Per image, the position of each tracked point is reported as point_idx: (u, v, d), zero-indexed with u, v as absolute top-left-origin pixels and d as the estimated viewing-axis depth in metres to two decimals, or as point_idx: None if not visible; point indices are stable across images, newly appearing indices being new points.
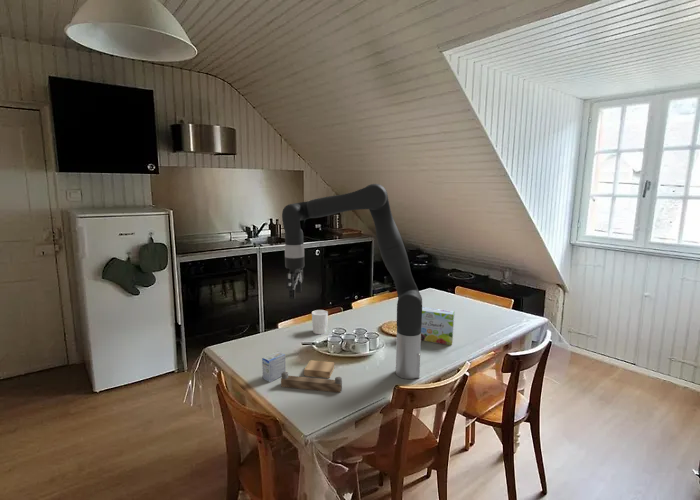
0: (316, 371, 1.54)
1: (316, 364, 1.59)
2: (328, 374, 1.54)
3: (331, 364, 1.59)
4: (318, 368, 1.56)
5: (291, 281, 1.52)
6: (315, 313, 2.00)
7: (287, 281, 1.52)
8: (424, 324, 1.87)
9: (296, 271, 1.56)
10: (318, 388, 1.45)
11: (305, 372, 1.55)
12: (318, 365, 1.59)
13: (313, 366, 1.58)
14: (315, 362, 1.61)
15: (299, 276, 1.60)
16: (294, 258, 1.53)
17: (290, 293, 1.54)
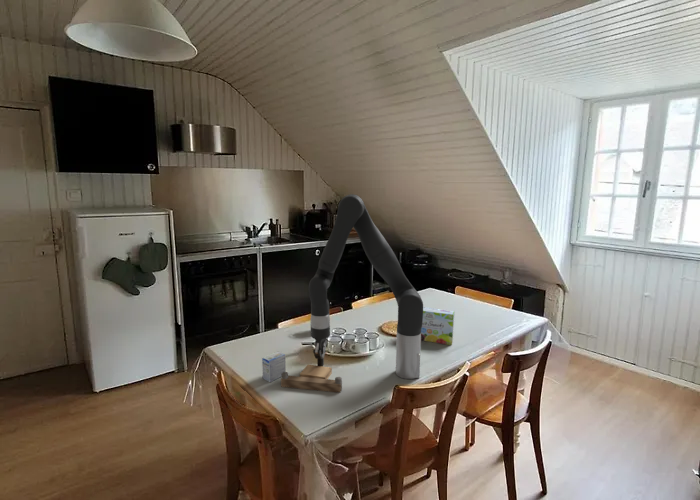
0: (311, 375, 1.51)
1: (312, 369, 1.56)
2: None
3: (328, 369, 1.56)
4: (314, 373, 1.53)
5: (319, 355, 1.54)
6: None
7: (315, 355, 1.55)
8: (424, 324, 1.87)
9: (322, 341, 1.56)
10: (318, 388, 1.45)
11: (301, 376, 1.53)
12: (314, 370, 1.55)
13: (310, 371, 1.55)
14: (312, 366, 1.58)
15: None
16: (320, 329, 1.53)
17: (318, 362, 1.58)
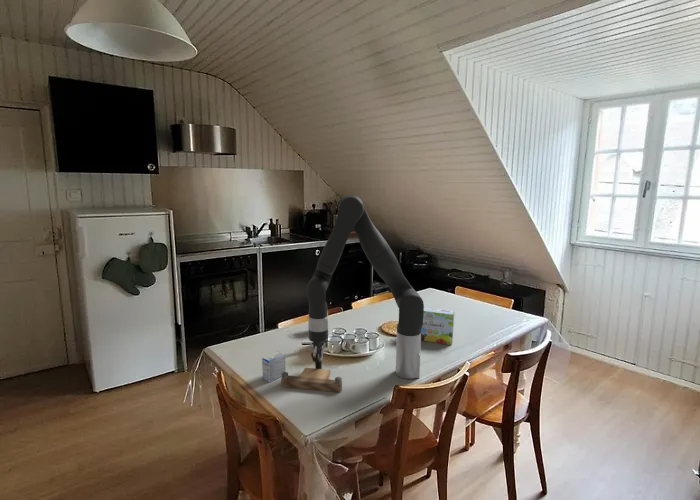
0: None
1: (311, 372, 1.53)
2: None
3: (327, 372, 1.53)
4: (313, 376, 1.50)
5: (317, 359, 1.51)
6: None
7: (313, 358, 1.52)
8: (424, 324, 1.87)
9: (320, 344, 1.54)
10: (318, 388, 1.45)
11: None
12: (313, 373, 1.52)
13: (308, 374, 1.51)
14: (310, 369, 1.55)
15: None
16: (318, 332, 1.51)
17: (317, 365, 1.56)
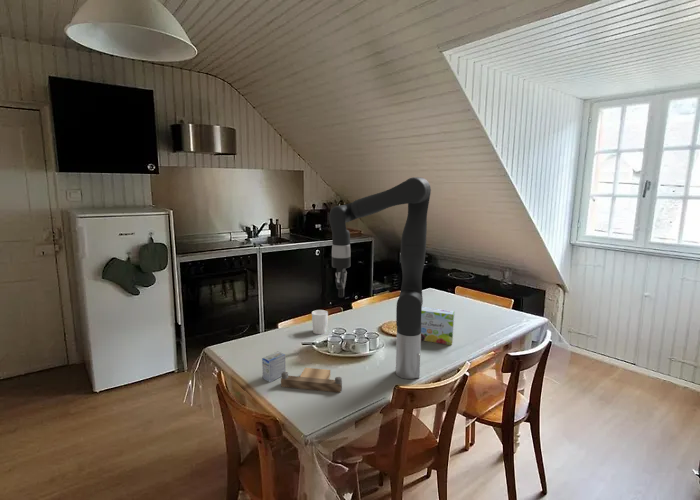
0: None
1: (311, 372, 1.53)
2: None
3: (327, 372, 1.53)
4: (313, 376, 1.50)
5: (340, 284, 1.59)
6: (315, 313, 2.00)
7: (336, 284, 1.60)
8: (424, 324, 1.87)
9: (343, 271, 1.61)
10: (318, 388, 1.45)
11: None
12: (313, 373, 1.52)
13: (309, 374, 1.51)
14: (310, 370, 1.55)
15: None
16: (342, 258, 1.59)
17: (339, 292, 1.63)
